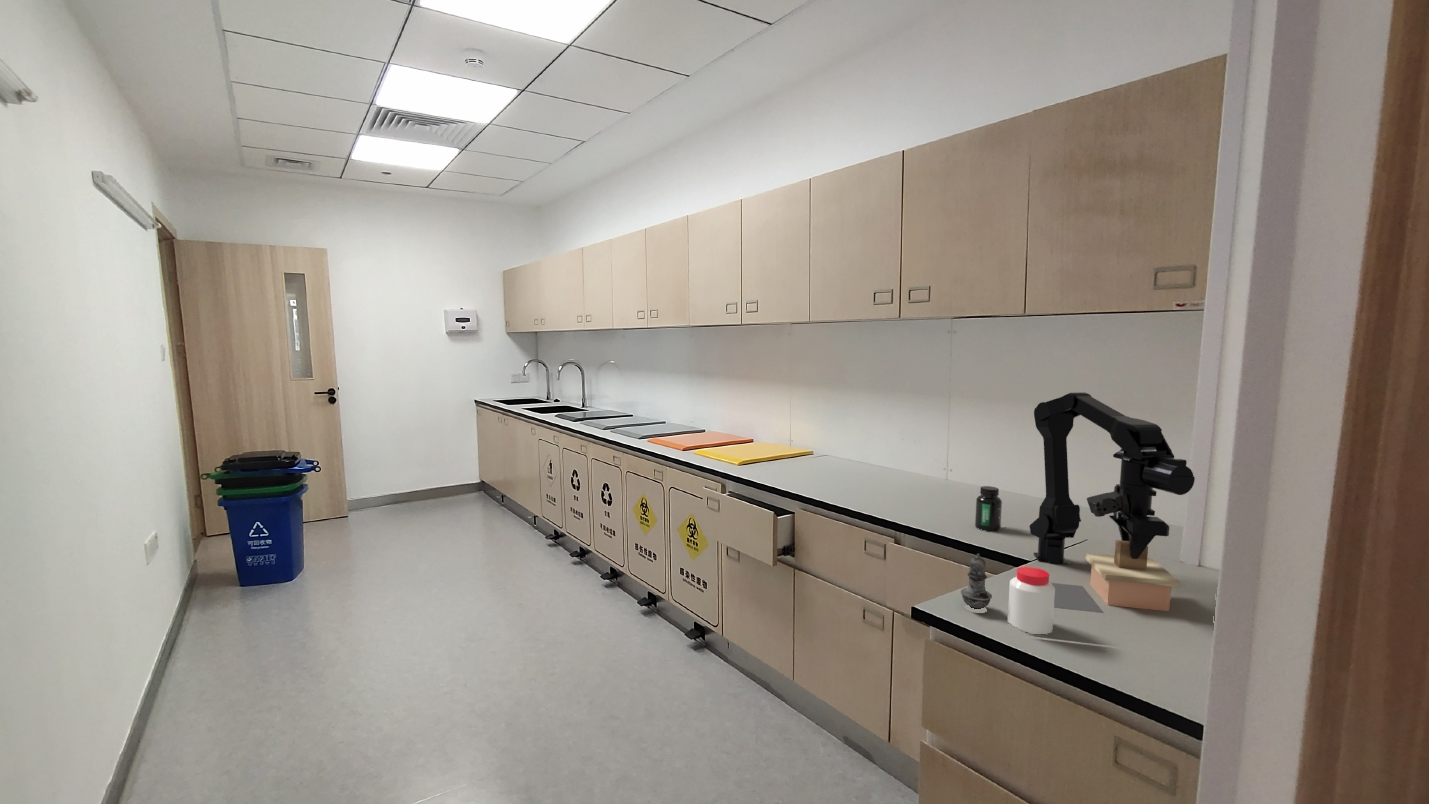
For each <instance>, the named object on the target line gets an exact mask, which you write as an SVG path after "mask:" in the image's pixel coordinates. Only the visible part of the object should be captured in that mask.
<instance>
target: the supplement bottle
mask: <svg viewBox="0 0 1429 804" xmlns="http://www.w3.org/2000/svg"><path fill="white" fill-rule="evenodd" d="M999 496H1000V491H999V488H998V487H996V486H990V485H984V486H980V492H979V495H978V496H977V497H976V499H975V517H974V518H975V519H974V520H975V521H974V525H975V526H974V527H975V528H976V529H978V528H979V529H978V530H980V529H982V530H981V531H983V530H986V531H985V532H990V531H994V532H999V531H1000V530H1001V525H1002V509H1003V501H1002V499H1001V498H1000V497H999ZM998 530H999V531H998Z"/></svg>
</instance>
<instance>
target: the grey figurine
mask: <svg viewBox="0 0 1429 804" xmlns="http://www.w3.org/2000/svg"><path fill="white" fill-rule="evenodd" d="M980 556H981V554H980V553H977V554H976V556H973V557H972V558H971V559H970V561H969V572H967V576H968V585H967V587H965V588H962V589H961V590H960V594H961V596H962V600H963V602H964V603H965V605H966V604H967V605H969V606H970V607H971V608H974V609H981V608H984V607H985V608H987V606H989V604H990V602H991V599H992V598H993V595H992V594H991V592H989V591H987V590H986V579H987V578H988V576H987V575H986V561H985V559H984V558H982V557H980Z"/></svg>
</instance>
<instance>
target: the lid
mask: <svg viewBox="0 0 1429 804" xmlns="http://www.w3.org/2000/svg"><path fill="white" fill-rule="evenodd" d="M1114 545H1115V546H1114V555H1113V554H1112V555H1110V554H1101V553H1088V552H1086V553H1085V560H1086V561H1087V562H1088V563H1089V564H1090V566H1091V567H1092V566H1093V567H1094V568H1095V569H1096V571H1097V572H1098V573H1099V574H1100V575H1101V576H1102V577H1103V578H1104V579H1105V580H1108V581H1119V582H1129V583H1140V584H1151V585H1161V586H1171V588H1172V587H1173V588H1180V580H1179V579H1178V578H1177V577H1175V576H1174V575H1173V574H1171V573H1170V572H1169V571H1168V570H1166V569H1165V568H1164V567H1163V566H1162V565H1161V564H1160V563H1158V562H1157V561H1156V560H1155V559H1153V558H1148V553H1149V545H1148V546H1147V547H1146V548H1145V550H1144V551H1143V552H1142V554H1141V555H1140V556H1139V558H1138V559H1132V558H1131V553H1130V543H1129V541H1122V540H1117V539H1115V543H1114Z"/></svg>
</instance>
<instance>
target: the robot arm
mask: <svg viewBox="0 0 1429 804" xmlns="http://www.w3.org/2000/svg"><path fill="white" fill-rule="evenodd" d="M1033 416H1034V423H1035V428H1036V430H1037V431H1038V432H1039V434H1040V435H1041V437H1042V439H1043V456H1044V459H1043V460H1044V479H1045V498H1044V499H1043V501H1042V502H1041V505H1040V506H1039V508H1038V510H1039V511H1038V518H1036V519H1035V520H1034V521H1033V522H1031V524H1029V530H1030V535H1032V536H1034V537H1036V538H1038V544H1037V545H1038V546H1037V552H1033V556H1034V557H1035V559H1036V560H1037V562H1038V563H1045V564H1046V563H1047V564H1054V565H1057V564H1058V565H1069V562H1068V561H1067V560H1066V558H1065V557H1064V556H1065V547H1066V546H1065V545H1066V542H1065V541H1066V539H1074V538H1075V535H1076V533H1077V529H1079V527H1080V523H1081V522H1082V519H1081V516H1080V514H1081V507H1080V505H1079V504H1074V502H1073V500H1072V498H1071V497H1070V484H1069V482H1070V481H1069V465H1068V462H1069V461H1068V446H1067V445H1068V442H1067V441H1068V440H1067V439H1068V436H1069V434H1070V433H1071V431H1072V430H1073V428H1074V420H1075V418H1078V417H1080V416H1081V417H1083V418H1085V419H1086V420H1089V422H1091V423H1093V424H1094V425H1096V426H1097V427H1100V428H1101V429H1103V430H1104V431H1106V432H1107V433H1109V434H1110V437H1111V440H1112V441H1113V442H1114V443H1115V444H1116V445H1117V446H1118V447H1119V448H1120V450H1119V451H1117V452H1115V453H1113V454H1112V457H1113V458H1114V459H1119V460H1121V462H1120V464H1121V465H1120V472H1119V473H1120V475H1119V476H1120V478H1119V484H1118V483H1117V484H1116V485H1114V488H1113V491H1111V492H1105V493H1104V492H1103V493H1101V494H1100V493H1099V494H1096V495H1095V494H1094V495H1092V496H1091V495H1090V496H1089V497H1087V498H1086V501H1087V505H1088V507H1089V509H1090V513H1092V514H1093V516H1094V517H1097V518H1098V517H1099V518H1101V517H1105V516H1106V515H1108V516H1109V519H1111V520H1112V521H1113V522H1114V523H1115V524H1116V525H1117V528H1118V531H1119V535H1120V539H1121V540H1120V541H1129V543H1130V553H1131V558H1132V559H1138V558H1139V556H1140V555H1141V554H1142V552H1143V551H1144V550H1145V548H1146V547H1147V546H1148V547H1149V544H1150V543H1151V542H1152V540H1153V539H1154V538H1155V537H1157V536H1159V537H1169V536H1170V526H1169V525H1168V523H1166V521H1164V520H1163V519H1161V518H1159V516H1155V514H1156V510H1154V509H1152V504H1153V503H1152V502H1153V497H1157V491H1156V490H1159V491H1163V492H1166V493H1170V494H1173V495H1178V496H1182V495H1183V496H1184V495H1186V494H1187V493H1189V492H1190V491H1191V490H1192V488H1193V487H1194V484H1195V481H1196V480H1195V479H1196V477H1195V476H1194V473H1193V471H1192V469H1191V468H1190V467H1188V466H1187V462H1188V461H1187V460H1186V459H1183V458H1175V455H1174V453H1173V451H1172V449H1171V448H1170V446H1169V442H1167V439H1166V437H1165V436H1164V434H1163V433H1162V432H1163V429H1162V428H1161V426H1159V424H1156V423H1154V422H1151V421H1148V420H1145V419H1139V418H1134V417H1130V416H1127V415H1124V414H1123V413H1122V412H1119V411H1117V410H1116V409H1114V408H1113V407H1111V406H1108V405H1107V404H1106V403H1103V402H1101V401H1100V400H1099V399H1096V398H1094V397H1092V395H1091V394H1090V393H1088V392H1085V391H1084V392H1069V393H1067V394H1064V395H1063V396H1060V397H1057V398H1054V399H1050V400H1048V401H1042V402H1039V403H1038V404H1037V405H1036V407H1035V408H1034V410H1033ZM1155 489H1156V490H1155ZM1111 514H1112V515H1111Z"/></svg>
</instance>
